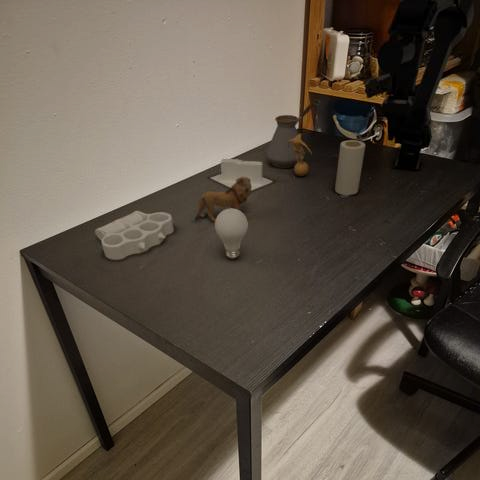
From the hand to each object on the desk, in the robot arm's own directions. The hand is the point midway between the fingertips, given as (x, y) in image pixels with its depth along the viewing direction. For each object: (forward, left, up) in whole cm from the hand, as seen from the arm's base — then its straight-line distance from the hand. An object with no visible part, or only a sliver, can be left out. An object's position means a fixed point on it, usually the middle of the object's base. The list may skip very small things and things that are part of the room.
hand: (392, 134), depth 106 cm
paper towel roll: (+7, -6, -7) cm, 11 cm away
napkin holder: (+9, -38, -13) cm, 41 cm away
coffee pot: (-11, -28, -13) cm, 33 cm away
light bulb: (+47, -25, -13) cm, 55 cm away
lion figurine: (+30, -34, -13) cm, 47 cm away
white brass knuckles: (+47, -49, -13) cm, 69 cm away
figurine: (+2, -23, -13) cm, 27 cm away
